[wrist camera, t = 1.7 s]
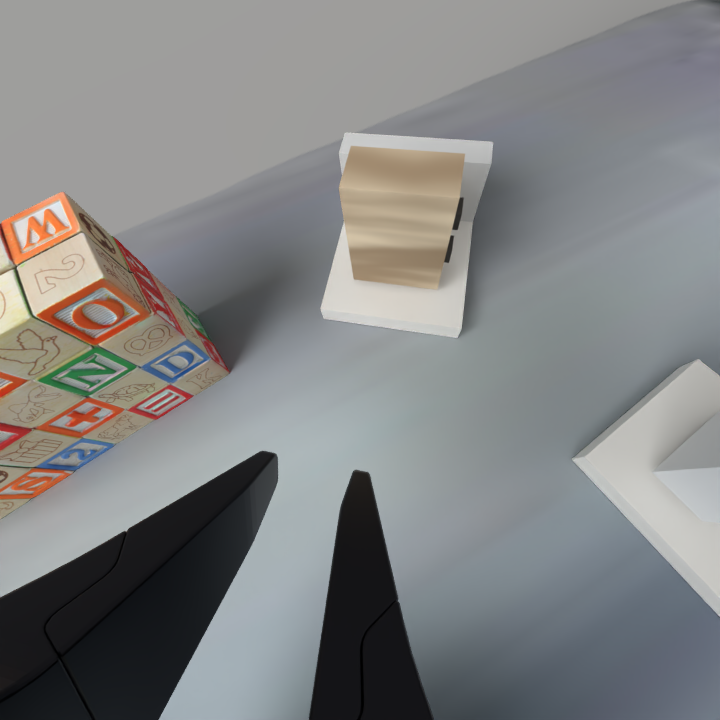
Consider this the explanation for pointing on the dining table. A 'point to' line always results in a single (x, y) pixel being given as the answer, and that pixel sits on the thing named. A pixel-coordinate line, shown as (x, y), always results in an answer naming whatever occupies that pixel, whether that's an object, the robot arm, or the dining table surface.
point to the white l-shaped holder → (407, 303)
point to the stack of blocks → (84, 347)
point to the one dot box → (648, 493)
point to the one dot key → (696, 471)
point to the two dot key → (401, 213)
